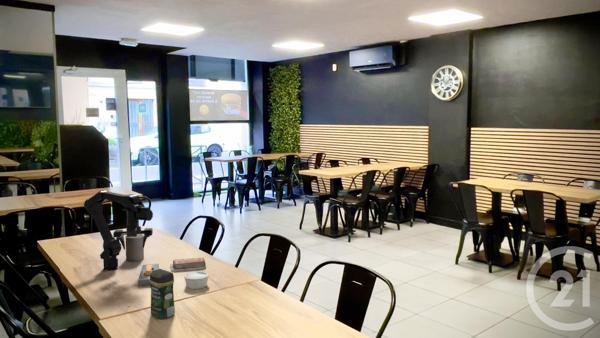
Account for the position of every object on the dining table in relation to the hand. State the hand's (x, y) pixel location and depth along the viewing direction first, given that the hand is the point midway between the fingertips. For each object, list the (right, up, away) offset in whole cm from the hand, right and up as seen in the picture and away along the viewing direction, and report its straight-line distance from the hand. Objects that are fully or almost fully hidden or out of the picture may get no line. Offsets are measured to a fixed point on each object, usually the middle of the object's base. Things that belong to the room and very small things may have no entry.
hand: (133, 249), depth 240 cm
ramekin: (+37, -15, -19) cm, 44 cm away
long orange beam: (+10, -13, -8) cm, 18 cm away
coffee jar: (+30, -18, -52) cm, 63 cm away
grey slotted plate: (+10, -13, -7) cm, 18 cm away
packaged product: (+26, -12, +8) cm, 30 cm away
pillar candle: (-7, -10, +22) cm, 25 cm away
